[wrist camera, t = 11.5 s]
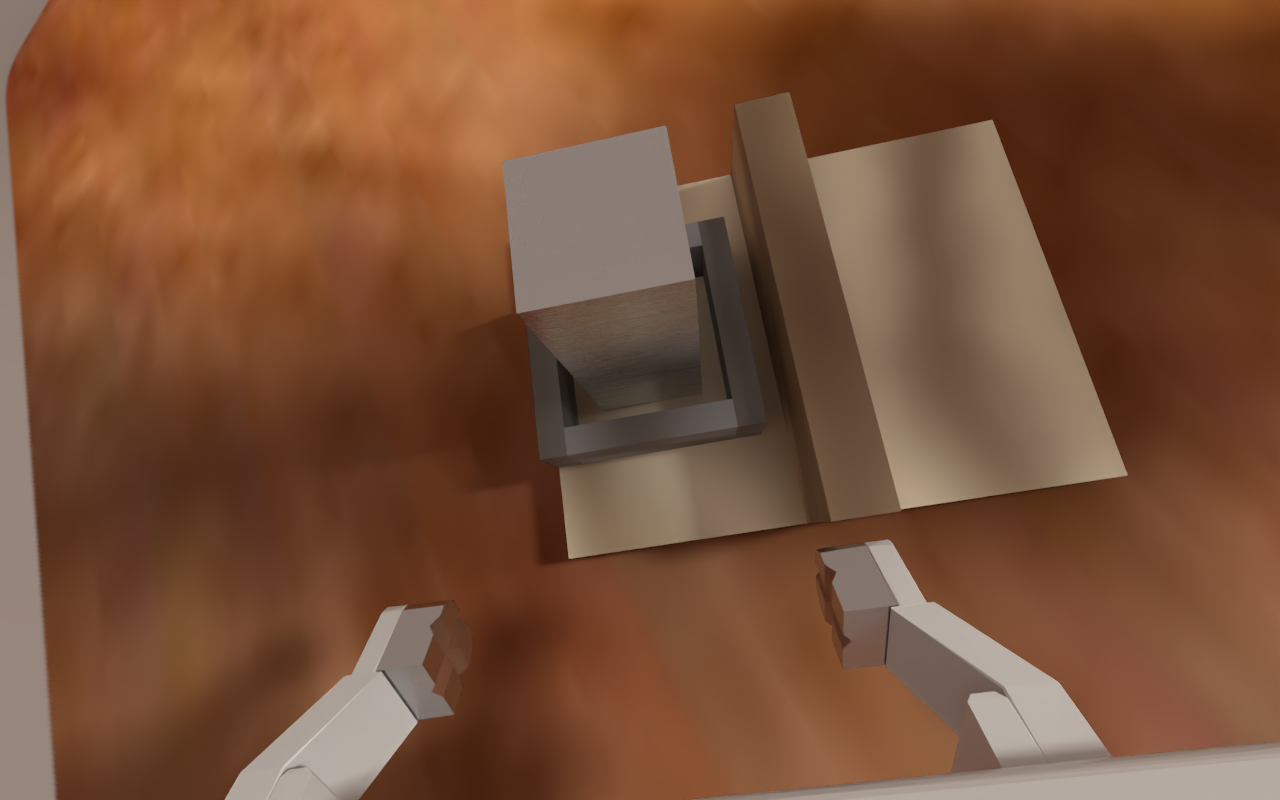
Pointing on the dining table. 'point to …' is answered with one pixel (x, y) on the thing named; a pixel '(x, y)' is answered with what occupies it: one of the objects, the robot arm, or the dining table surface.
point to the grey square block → (607, 266)
